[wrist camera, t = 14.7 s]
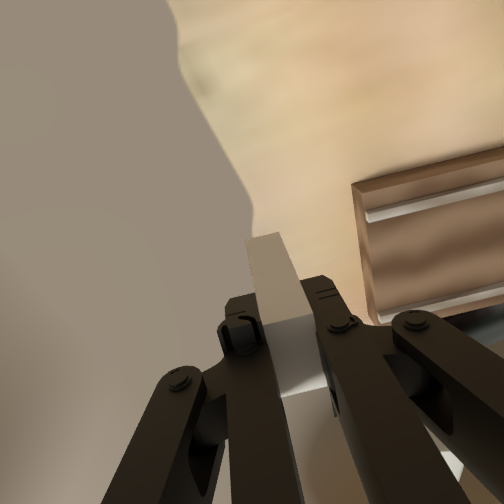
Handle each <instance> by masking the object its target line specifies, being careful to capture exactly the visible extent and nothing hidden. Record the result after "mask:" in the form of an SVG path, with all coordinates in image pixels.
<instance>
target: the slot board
mask: <svg viewBox="0 0 504 504" xmlns="http://www.w3.org/2000/svg"><path fill="white" fill-rule="evenodd" d="M351 187H352V195H353V202H354V210H355V217H356V225H357V233H358V240H359V248H360V255H361V263H362V271H363V278H364V286H365V293H366V301H367V309H368V316H369V317H370V319H371V320H372V322H373V323H374V325H375V326H392V324H391V321H392V319H393V318H394V316H395V315H397V314H399V313H400V312H403V311H407V310H425V311H429V312H431V313H433V314H436V315H437V316H439V317H440V318H442V317H447V316H451V315H455V314H459V313H463V312H467V311H471V310H475V309H479V308H484V307H488V306H492V305H496V304H500V303H504V147H500V148H496V149H492V150H488V151H484V152H480V153H476V154H472V155H468V156H464V157H460V158H455V159H451V160H447V161H443V162H439V163H435V164H431V165H427V166H423V167H419V168H415V169H411V170H407V171H402V172H398V173H394V174H390V175H386V176H382V177H378V178H374V179H370V180H366V181H362V182H358V183H354V184H351Z"/></svg>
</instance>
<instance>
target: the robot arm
mask: <svg viewBox="0 0 504 504" xmlns="http://www.w3.org/2000/svg"><path fill="white" fill-rule="evenodd" d="M245 245H246V249H247V255H248V259H249V265H250V269H251V274H252V279H253V284H254V289H255V293H251V294H247V295H243V296H238V297H234V298H230V299H229V301H228V302H227V304H226V306H225V316H226V317H225V318H226V319H225V320H224V321H223V322H222V323H221V324H220V325H219V326H218V329H217V334H218V337H219V340H220V344H221V347H222V350H223V353H224V358H223V359H222V360H221V361H220V362H219V363H218V364H216V365H215V366H213V367H211V368H210V369H208V370H206V371H204V372H202V373H201V371H200V370H199V369H198V368H196V367H194V366H182V367H178V368H176V369H173V370H171V371H169V372H168V373H167V374H165V375H164V376H163V377H162V378H161V380H160V381H159V382H158V384H157V386H156V388H155V390H154V392H153V394H152V397H151V399H150V401H149V403H148V405H147V407H146V409H145V411H144V414H143V416H142V418H141V420H140V422H139V424H138V426H137V428H136V431H135V433H134V435H133V437H132V439H131V441H130V443H129V445H128V447H127V449H126V451H125V454H124V456H123V458H122V460H121V462H120V464H119V466H118V468H117V470H116V473H115V475H114V477H113V479H112V481H111V483H110V485H109V488H108V489H107V492H106V494H105V496H104V498H103V500H102V502H101V504H212V501H213V497H214V492H215V488H216V484H217V479H218V475H219V471H220V466H221V462H222V458H223V453H224V449H225V440H226V439H228V442H229V460H230V480H231V498H232V504H305V501H304V496H303V492H302V487H301V483H300V478H299V474H298V469H297V465H296V461H295V456H294V451H293V447H292V443H291V438H290V433H289V429H288V424H287V420H286V415H285V411H284V407H283V403H282V399H281V397H284V396H288V395H293V394H297V393H301V392H305V391H309V390H313V389H318V388H322V387H326V386H327V382H328V385H329V390H330V396H331V401H332V406H333V411H334V416H335V417H337V416H338V419H339V422H340V424H341V427H342V430H343V432H344V435H345V438H346V441H347V444H348V446H349V449H350V452H351V455H352V457H353V460H354V463H355V466H356V468H357V471H358V474H359V477H360V479H361V482H362V485H363V487H364V490H365V493H366V496H367V499H368V501H369V504H471V503H470V501H469V499H468V498H467V496H466V494H465V492H464V491H463V489H462V487H461V486H460V484H459V482H458V481H457V479H456V477H455V476H454V474H453V472H452V471H451V469H450V467H449V466H448V464H447V462H446V461H445V459H444V457H443V456H442V454H441V452H440V451H439V449H438V447H437V446H436V444H435V442H434V441H433V439H432V437H431V436H430V434H429V432H428V431H427V429H426V427H427V428H428V429H429V430H430V431H431V432H432V433H433V434H434V435H435V436H436V437H437V438H438V439H439V440H440V441H441V442H442V443H443V444H444V445H445V446H446V447H447V448H448V449H449V450H450V451H451V452H452V453H453V454H454V455H455V456H456V457H457V458H458V460H459V461H460V462H461V463H462V464H463V465H464V466H465V467H466V468H467V469H468V470H469V471H470V472H471V473H472V474H473V475H474V476H475V477H476V478H477V479H478V480H479V481H480V482H481V483H482V484H483V485H484V486H485V487H486V488H487V489H488V490H489V491H490V492H491V493H492V494H493V495H494V496H495V497H496V498H497V499H498V500H499V501H500V502H501V503H502V504H504V359H503V358H501V357H500V356H498V355H497V354H495V353H494V352H492V351H491V350H489V349H488V348H486V347H485V346H483V345H482V344H480V343H478V342H477V341H475V340H474V339H472V338H471V337H469V336H468V335H466V334H465V333H463V332H462V331H460V330H459V329H457V328H456V327H454V326H452V325H451V324H449V323H448V322H446V321H445V320H443V319H442V318H440V317H439V316H437V315H436V314H433V313H431V312H429V311H425V310H407V311H403V312H400V313H399V314H397V315H395V316H394V318H393V319H392V321H391V324H392V326H371V325H366V324H363V322H362V320H361V319H360V318H358V317H357V316H355V315H352V314H351V312H350V311H349V309H348V307H347V305H346V304H345V302H344V300H343V298H342V297H341V295H340V293H339V292H338V290H337V289H336V286H335V285H334V283H333V281H332V280H331V279H329V278H327V277H325V276H324V275H320V276H316V277H312V278H308V279H304V280H300V281H299V278H298V276H297V274H296V271H295V269H294V267H293V264H292V262H291V260H290V257H289V255H288V252H287V250H286V248H285V245H284V243H283V241H282V238H281V236H280V234H279V232H276V233H272V234H268V235H264V236H260V237H256V238H251V239H247V240H245ZM326 380H327V382H326ZM424 425H425V426H426V427H425V426H424Z"/></svg>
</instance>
